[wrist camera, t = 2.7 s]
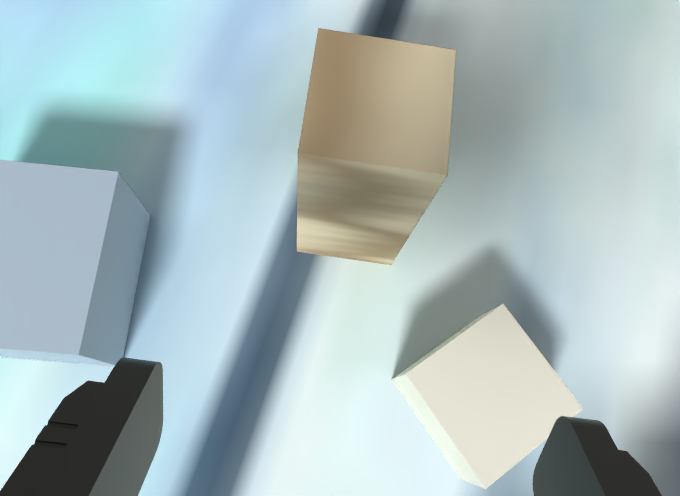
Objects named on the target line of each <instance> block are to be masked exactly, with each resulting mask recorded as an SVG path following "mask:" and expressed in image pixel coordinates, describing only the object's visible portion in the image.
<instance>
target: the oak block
mask: <svg viewBox="0 0 680 496" xmlns="http://www.w3.org/2000/svg"><path fill="white" fill-rule="evenodd" d="M455 58H456V50H454V49H447V48H441V47H435V46H428V45H422V44H416V43H409V42H403V41H397V40H390V39H384V38H378V37H371V36H365V35H359V34H352V33H346V32H340V31H333V30H327V29H321V28H318V34H317V40H316V46H315V52H314V58H313V64H312V70H311V77H310V83H309V89H308V95H307V101H306V107H305V113H304V119H303V125H302V131H301V137H300V143H299V149H298V193H297V252H304V253H311V254H318V255H326V256H333V257H340V258H347V259H354V260H361V261H368V262H375V263H382V264H389V265H391V264H392V262H393V261H394V259H395V258H396V256H397V254H398V253H399V251H400V250H401V248H402V247H403V245H404V243H405V242H406V240H407V239H408V237H409V235H410V234H411V232H412V231H413V229H414V227H415V226H416V224H417V223H418V221H419V220H420V218H421V216H422V215H423V213H424V212H425V210H426V208H427V207H428V205H429V204H430V202H431V201H432V199H433V197H434V196H435V194H436V193H437V191H438V189H439V188H440V186H441V185H442V183H443V181H444V180H445V178H446V177H447V173H448V159H449V145H450V130H451V116H452V101H453V87H454V72H455Z"/></svg>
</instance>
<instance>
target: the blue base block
mask: <svg viewBox="0 0 680 496" xmlns="http://www.w3.org/2000/svg"><path fill="white" fill-rule="evenodd" d="M149 222H150V214H149V213H148V212H147V210H146V209H145V207H144V206H143V205H142V203H141V202H140V201H139V199H138V198H137V196H136V195H135V194H134V192H133V191H132V190H131V188H130V187H129V185H128V184H127V183H126V181H125V180H124V179H123V177H122V176H121V174H120V173H119V172H118V171H107V170H97V169H87V168H77V167H67V166H57V165H47V164H37V163H27V162H17V161H7V160H0V357H5V358H17V359H29V360H42V361H54V362H66V363H79V364H91V365H103V366H115V365H116V363H117V362H118V361H119V360H120V359H121V358H123V357H124V351H125V346H126V341H127V336H128V331H129V325H130V320H131V315H132V310H133V305H134V300H135V294H136V289H137V284H138V279H139V274H140V268H141V263H142V258H143V253H144V248H145V242H146V237H147V232H148V227H149Z"/></svg>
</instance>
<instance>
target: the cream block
mask: <svg viewBox="0 0 680 496" xmlns="http://www.w3.org/2000/svg"><path fill="white" fill-rule="evenodd" d="M392 381H393V382H394V384H395V385H396V387H397V388H398V390H399V391H400V392H401V394H402V395H403V397H404V398H405V400H406V401H407V403H408V404H409V406H410V407H411V408H412V410H413V411H414V413H415V414H416V416H417V417H418V419H419V420H420V422H421V423H422V425H423V426H424V427H425V429H426V430H427V432H428V433H429V435H430V436H431V438H432V439H433V441H434V442H435V443H436V445H437V446H438V448H439V449H440V451H441V452H442V454H443V455H444V457H445V458H446V460H447V461H448V462H449V464H450V465H451V467H452V468H453V470H454V471H455V473H456V474H457V476H458V477H459V478H460V479H461V480H464V481H466V482H469V483H472V484H474V485H477V486H480V487H482V488H485V489H486V488H488V487H489V486H490V485H491V484H492V483H494V482H495V481H496V480H497V479H499V478H500V477H501V476H502V475H503V474H505V473H506V472H507V471H508V470H510V469H511V468H512V467H513V466H514V465H516V464H517V463H518V462H519V461H521V460H522V459H523V458H524V457H525V456H527V455H528V454H529V453H530V452H532V451H533V450H534V449H535V448H536V447H538V446H539V445H540V444H541V443H543V442H544V441H545V440H546V439H547V438H548V437H549V435H550V432H551V430H552V428H553V426H554V423H555V422H556V420H557V419H558V418H559V417H561V416H566V417H574V416H575V415H577V414H578V413H579V412H580V411H582V410H583V408H582V406H581V405H580V404H579V402H578V401H577V400H576V398H575V397H574V396H573V394H572V393H571V392H570V390H569V389H568V388H567V387H566V385H565V384H564V383H563V381H562V380H561V379H560V377H559V376H558V375H557V373H556V372H555V371H554V369H553V368H552V367H551V366H550V364H549V363H548V362H547V360H546V359H545V358H544V356H543V355H542V354H541V352H540V351H539V350H538V348H537V347H536V346H535V345H534V343H533V342H532V341H531V339H530V338H529V337H528V335H527V334H526V333H525V331H524V330H523V329H522V327H521V326H520V325H519V324H518V322H517V321H516V320H515V318H514V317H513V316H512V314H511V313H510V312H509V310H508V309H507V308H506V306H505V305H504V304H501V305H499V306H498V307H496V308H494V309H492V310H490V311H489V312H487V313H485V314H483V315H481V316H479V317H478V318H476V319H475V320H473V321H472V322H471V323H469V324H468V325H466V326H465V327H464V328H462V329H461V330H460V331H458V332H457V333H455V334H454V335H453V336H451V337H450V338H448V339H447V340H446V341H444V342H443V343H441V344H440V345H439V346H437V347H436V348H435V349H433V350H432V351H430V352H429V353H428V354H426V355H425V356H423V357H422V358H421V359H419V360H418V361H416V362H415V363H414V364H412V365H411V366H410V367H408V368H407V369H405V370H404V371H403V372H401V373H400V374H398V375H397V376H396V377H394V378H393V379H392Z"/></svg>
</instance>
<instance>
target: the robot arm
mask: <svg viewBox="0 0 680 496" xmlns="http://www.w3.org/2000/svg"><path fill="white" fill-rule="evenodd" d="M162 426H163V370H162V364H161V363H160V362H154V361H146V360H138V359H131V358H121V359H120V360H119V361H118V362H117V363H116V365H115V367H114V368H113V370H112V372H111V373H110V375H109V376H108V378H107V380H106V381H105V383H102V382H94V381H87V382H85V383H84V384H83V385H81V386H80V387H79V388H77V389H76V390H75V391H73V392H72V393H70V394H69V395H68V396H66V397H65V398H64V399H63V400H62V402H61V403H60V405H59V406H58V408H57V409H56V410H55V412H54V413H53V415H52V416H51V418H50V419H49V421H48V425H47V426H45V427H44V428H43V429H42V431H41V432H40V434H39V435H38V437H37V438H36V440H35V444H34V445H32V446H31V447H30V448H29V450H28V451H27V453H26V454H25V456H24V457H23V459H22V460H21V462H20V463H19V464H18V466H17V467H16V469H15V470H14V472H13V473H12V475H11V476H10V478H9V479H8V481H7V482H6V483H5V485H4V486H3V488H2V489H1V491H0V496H138V494H139V491H140V489H141V487H142V484H143V482H144V479H145V477H146V475H147V472H148V470H149V467H150V465H151V463H152V460H153V458H154V455H155V453H156V450H157V448H158V444H159V441H160V437H161V432H162ZM533 492H534V496H662V495H661V494H660V492H659V490H658V489H657V487H656V485H655V483H654V482H653V480H652V478H651V476H650V475H649V473H648V472H647V471H646V470H645V469H644V468H643V467H642V466H641V465H640V464H639V463H638V462H637V461H636V460H635V459H634V458H633V457H632V456H631V455H630V454H629V453H628V452H627V451H622V450H618V449H617V447H616V445H615V443H614V441H613V440H612V438H611V436H610V434H609V432H608V430H607V428H606V427H605V425H604V424H603V423H602V422H600V421H597V420H589V419H582V418H574V417H566V416H561V417H559V418H558V419H557V420H556V422H555V423H554V426H553V428H552V430H551V432H550V435H549V437H548V439H547V442H546V444H545V446H544V448H543V451H542V453H541V455H540V457H539V460H538V462H537V464H536V467H535V470H534V475H533Z"/></svg>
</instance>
